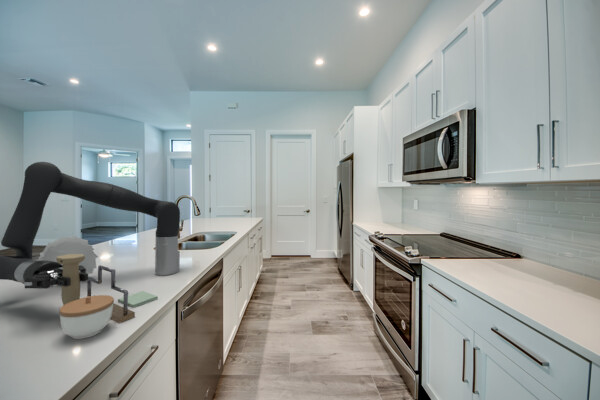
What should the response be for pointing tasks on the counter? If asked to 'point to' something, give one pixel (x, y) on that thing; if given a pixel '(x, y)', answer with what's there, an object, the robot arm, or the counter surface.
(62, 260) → the handle
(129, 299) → the green pad
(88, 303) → the lidded jar
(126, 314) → the bent wire
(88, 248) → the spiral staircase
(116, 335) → the counter surface
